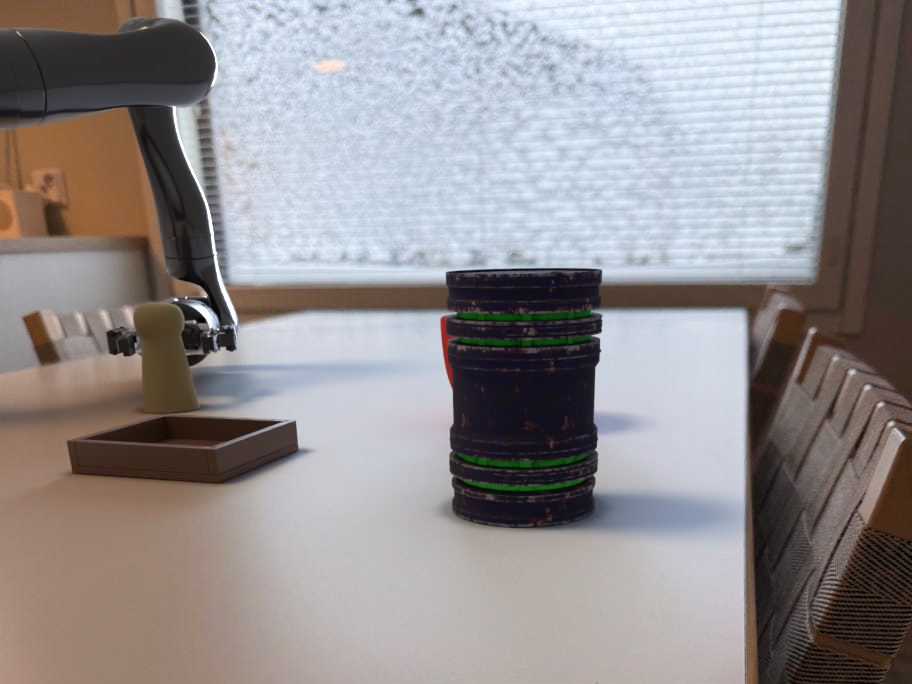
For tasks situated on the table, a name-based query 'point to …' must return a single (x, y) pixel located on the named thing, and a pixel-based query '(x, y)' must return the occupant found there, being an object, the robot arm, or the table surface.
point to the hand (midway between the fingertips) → (165, 345)
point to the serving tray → (184, 447)
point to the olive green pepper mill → (164, 359)
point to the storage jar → (523, 394)
